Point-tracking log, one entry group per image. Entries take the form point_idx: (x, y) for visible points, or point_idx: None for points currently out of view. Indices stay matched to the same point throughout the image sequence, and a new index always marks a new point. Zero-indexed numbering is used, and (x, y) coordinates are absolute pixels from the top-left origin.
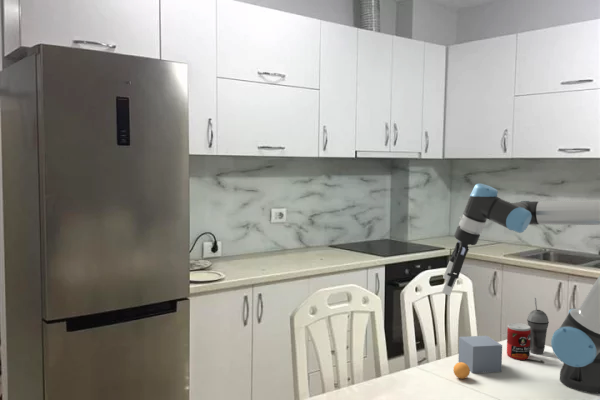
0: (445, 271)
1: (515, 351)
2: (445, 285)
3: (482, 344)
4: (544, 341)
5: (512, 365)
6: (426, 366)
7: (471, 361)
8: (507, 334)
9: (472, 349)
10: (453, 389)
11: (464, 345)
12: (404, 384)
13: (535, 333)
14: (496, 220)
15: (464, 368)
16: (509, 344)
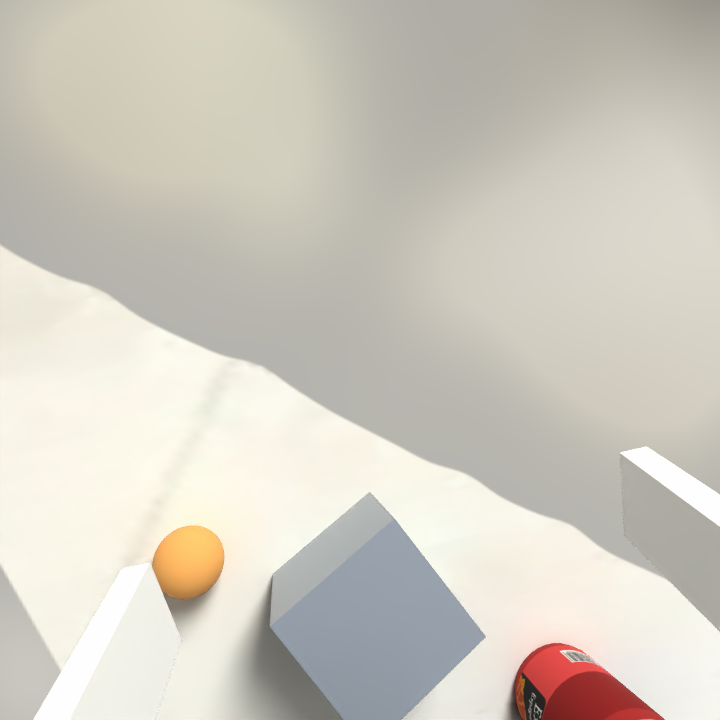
0: (701, 508)
1: (529, 705)
2: (66, 676)
3: (329, 658)
4: None
5: (438, 691)
6: (256, 393)
7: (280, 584)
8: (597, 699)
9: (274, 614)
10: (57, 555)
11: (341, 552)
12: (14, 370)
13: None
14: None
15: (160, 587)
16: (552, 690)
